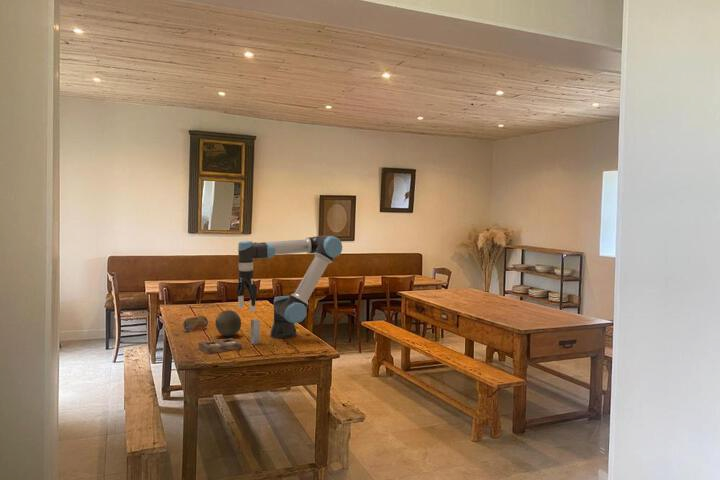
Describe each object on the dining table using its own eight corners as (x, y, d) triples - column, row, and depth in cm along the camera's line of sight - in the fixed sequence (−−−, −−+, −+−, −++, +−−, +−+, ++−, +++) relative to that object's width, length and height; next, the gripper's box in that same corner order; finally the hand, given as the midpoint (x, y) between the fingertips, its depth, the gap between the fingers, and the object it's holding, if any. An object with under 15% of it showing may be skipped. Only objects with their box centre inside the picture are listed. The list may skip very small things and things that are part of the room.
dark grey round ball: (218, 333, 304) (218, 308, 304) (242, 333, 305) (243, 308, 304) (212, 339, 290) (213, 312, 289) (238, 339, 291) (238, 313, 290)
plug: (256, 342, 286) (256, 318, 286) (259, 343, 284) (259, 319, 283) (250, 343, 284) (251, 319, 284) (253, 344, 281) (253, 320, 281)
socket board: (231, 343, 282) (231, 337, 282) (241, 348, 272) (241, 342, 271) (198, 348, 271) (198, 341, 271) (208, 353, 261) (208, 347, 261)
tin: (185, 332, 305) (185, 318, 304) (182, 331, 307) (182, 317, 307) (208, 329, 316) (208, 315, 315) (205, 328, 318) (205, 314, 318)
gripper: (229, 268, 284) (230, 307, 286) (250, 273, 265) (251, 314, 266) (242, 267, 289) (242, 305, 290) (263, 271, 269) (264, 312, 271)
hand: (246, 309), depth 278 cm, fingers open, 13 cm apart
